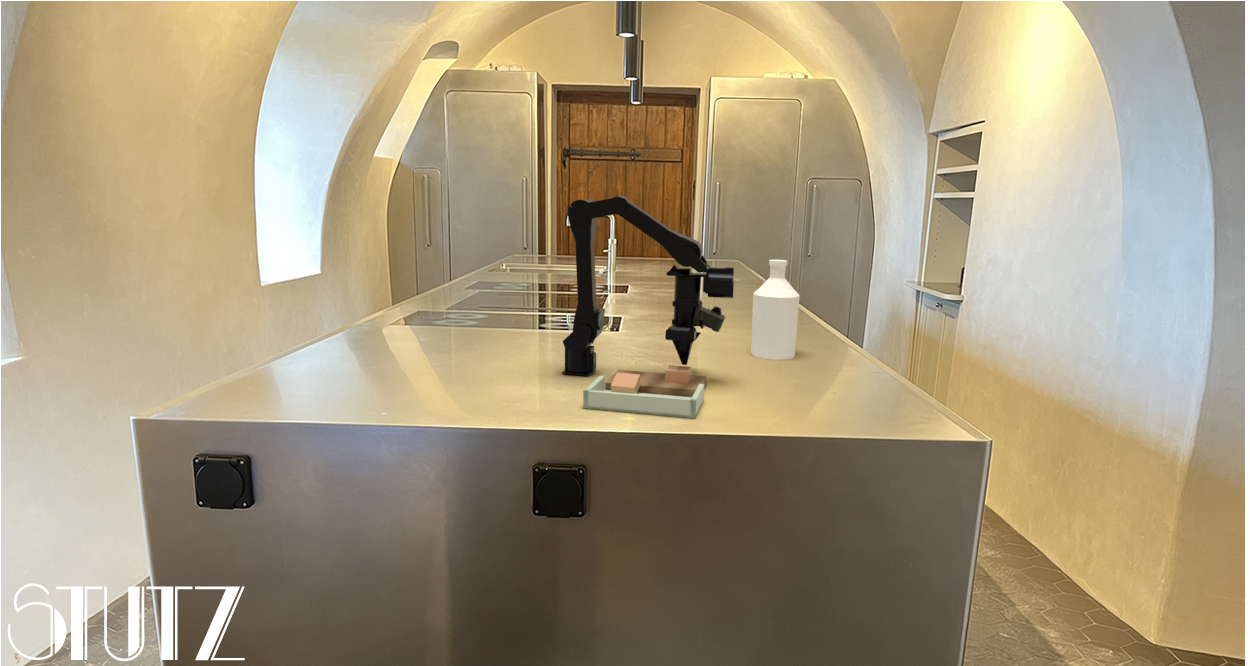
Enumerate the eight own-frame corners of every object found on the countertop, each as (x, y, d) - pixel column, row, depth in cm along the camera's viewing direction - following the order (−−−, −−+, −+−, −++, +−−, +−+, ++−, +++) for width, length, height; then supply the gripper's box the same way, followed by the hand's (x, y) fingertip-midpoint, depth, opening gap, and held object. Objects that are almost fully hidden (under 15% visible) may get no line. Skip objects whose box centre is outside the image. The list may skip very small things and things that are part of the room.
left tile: (611, 395, 148) (610, 385, 147) (617, 382, 152) (616, 372, 151) (635, 398, 147) (634, 387, 146) (640, 384, 151) (640, 374, 150)
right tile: (664, 381, 154) (665, 370, 154) (669, 376, 159) (669, 365, 159) (688, 383, 153) (688, 372, 153) (691, 378, 158) (692, 366, 157)
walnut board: (605, 391, 153) (605, 382, 153) (618, 378, 165) (619, 369, 164) (699, 399, 149) (699, 390, 148) (706, 385, 160) (706, 376, 160)
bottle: (800, 360, 186) (806, 263, 181) (753, 359, 186) (759, 262, 181) (790, 350, 197) (796, 258, 192) (746, 349, 197) (751, 257, 193)
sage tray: (583, 408, 141) (583, 390, 141) (600, 391, 153) (600, 375, 152) (695, 418, 136) (695, 400, 136) (703, 400, 148) (704, 384, 147)
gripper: (718, 304, 150) (715, 377, 153) (727, 292, 168) (724, 358, 171) (666, 301, 153) (663, 373, 156) (680, 290, 170) (677, 354, 173)
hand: (684, 364), depth 164 cm, fingers closed
